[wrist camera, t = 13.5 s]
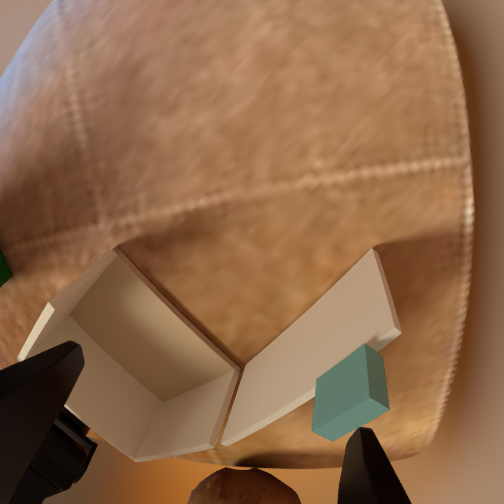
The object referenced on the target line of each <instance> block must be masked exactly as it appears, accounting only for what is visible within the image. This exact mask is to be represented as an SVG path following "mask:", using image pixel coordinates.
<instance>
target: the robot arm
mask: <svg viewBox="0 0 504 504" xmlns="http://www.w3.org/2000/svg"><path fill="white" fill-rule="evenodd" d="M84 365H85V359H84V355H83V351H82V347H81V345H80V344H78V343H76V342H74V341H72V340H69V341H66V342H64V343H62V344H59V345H57V346H55V347H52V348H50V349H48V350H46V351H43V352H41V353H39V354H36V355H34V356H32V357H30V358H27V359H25V360H23V361H20V362H18V363H16V364H13V365H11V366H9V367H7V368H4V369H2V370H0V504H42V502H43V501H44V499H45V498H47V497H50V496H52V495H55V494H58V493H60V492H62V491H65V490H67V489H69V488H70V487H71V485H72V483H73V484H75V483H76V482H78V481H79V480H80V479H81V477H82V476H83V475H84V473H85V471H86V469H87V467H88V465H89V463H90V461H91V458H92V456H93V454H94V452H95V450H96V448H97V445H98V444H97V443H95V442H92V441H91V440H90V439H89V438H87V437H86V435H87V433H88V432H89V430H90V429H91V428H89V427H88V426H87V425H86V424H84V423H83V422H82V421H81V420H80V419H78V418H77V417H76V416H75V415H74V414H73V413H71V412H70V411H69V410H68V409H67V408H66V407H65V406H64V405H65V403H66V402H67V400H68V398H69V396H70V394H71V392H72V390H73V388H74V386H75V384H76V382H77V380H78V378H79V376H80V374H81V372H82V370H83V368H84ZM337 504H412V503H411V501H410V500H409V498H408V496H407V494H406V492H405V490H404V488H403V486H402V484H401V483H400V480H399V479H398V477H397V475H396V473H395V471H394V469H393V467H392V465H391V464H390V461H389V460H388V458H387V456H386V454H385V452H384V450H383V448H382V447H381V445H380V443H379V441H378V439H377V437H376V435H375V433H374V432H373V430H372V429H371V428H366V427H359V428H357V430H356V431H355V432H354V433H353V435H352V436H351V437H350V438H349V440H348V442H347V445H346V450H345V456H344V461H343V467H342V472H341V478H340V483H339V490H338V503H337Z"/></svg>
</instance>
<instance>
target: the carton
mask: <svg viewBox="0 0 504 504" xmlns="http://www.w3.org/2000/svg"><path fill="white" fill-rule="evenodd" d="M69 340H72V341H74V342H76V343H78V344H80V345H81V347H82V351H83V355H84V359H85V365H84V368H83V370H82V372H81V374H80V376H79V378H78V380H77V382H76V384H75V386H74V388H73V390H72V392H71V394H70V396H69V398H68V400H67V402H66V403H65V405H64V406H65V407H66V408H67V409H68V410H69V411H70V412H71V413H73V414H74V415H75V416H76V417H77V418H78V419H80V420H81V421H82V422H83V423H84V424H86V425H87V426H88V427H89V428H91V429H92V430H93V431H94V432H96V433H97V434H98V435H99V436H101V437H102V438H103V439H105V440H106V441H107V442H109V443H110V444H111V445H113V446H114V447H115V448H117V449H118V450H119V451H121V452H122V453H124V454H125V455H127V456H128V457H129V458H131V459H132V460H134V461H135V462H143V461H149V460H155V459H162V458H168V457H173V456H179V455H184V454H189V453H194V452H198V451H203V450H207V449H211V448H215V445H216V442H217V439H218V437H219V434H220V431H221V428H222V425H223V422H224V419H225V416H226V413H227V410H228V407H229V404H230V401H231V398H232V395H233V392H234V389H235V386H236V383H237V380H238V377H239V374H240V371H241V368H240V367H239V366H237V365H236V364H235V363H234V362H233V361H232V360H231V359H230V358H228V357H227V356H226V355H225V354H224V353H223V352H222V351H221V350H220V349H219V348H217V347H216V346H215V345H214V344H213V343H212V342H211V341H210V340H209V339H208V338H207V337H206V336H204V335H203V334H202V333H201V332H200V331H199V330H198V329H197V328H196V327H195V326H194V325H193V324H192V323H191V322H190V321H189V320H188V319H187V318H186V317H185V316H184V315H183V314H182V313H180V312H179V311H178V310H177V309H176V308H175V307H174V306H173V305H172V304H171V303H170V302H169V301H168V300H167V299H166V298H165V297H164V296H163V295H162V294H161V293H160V292H159V290H158V289H157V288H156V287H155V286H154V285H153V284H152V283H151V282H150V281H149V280H148V279H147V278H146V277H145V276H144V275H143V274H142V273H141V272H140V271H139V270H138V269H137V268H136V266H135V265H134V264H133V263H132V262H131V261H130V260H129V259H128V258H127V257H126V256H125V255H124V254H123V252H122V251H121V250H120V249H119V248H118V247H117V246H116V247H114V248H113V249H112V250H111V251H109V252H108V253H107V254H105V255H104V256H103V257H102V258H100V259H99V260H98V261H97V262H95V263H94V264H93V265H92V266H91V267H89V268H88V269H87V270H86V271H84V272H83V273H82V274H81V275H80V276H78V277H77V278H76V279H75V280H74V281H72V282H71V283H70V284H69V285H68V286H67V287H65V288H64V289H63V290H62V291H61V292H59V293H58V294H57V295H56V296H55V297H54V298H53V299H51V300H50V301H49V302H48V304H47V305H46V307H45V309H44V310H43V312H42V314H41V315H40V317H39V319H38V321H37V322H36V324H35V326H34V328H33V330H32V331H31V333H30V335H29V337H28V339H27V341H26V342H25V344H24V346H23V348H22V350H21V352H20V354H19V356H18V358H17V359H18V361H19V362H20V361H23V360H25V359H27V358H30V357H32V356H34V355H36V354H39V353H41V352H43V351H46V350H48V349H50V348H52V347H55V346H57V345H59V344H62V343H64V342H66V341H69Z"/></svg>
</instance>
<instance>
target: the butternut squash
mask: <svg viewBox="0 0 504 504" xmlns="http://www.w3.org/2000/svg"><path fill="white" fill-rule="evenodd" d="M188 504H301V502H300V500H299V497H298V495H297V493H296V492H295V491H294V490H293V489H292V488H290V487H289V486H287V485H286V484H284V483H283V482H282V481H280V480H279V479H277V478H276V477H274V476H273V475H271V474H269V473H267V472H265V471H262V470H260V469H258V468H252V469H250V470H236V469H231V468H227V467H225V468H223V469H221V470H219V471H216V472H214V473H213V474H211V475H210V476H208V477H207V478H205V479H204V480H203V481H201V482H200V483H199V485H198V486H197V487H196V488H195V489H194V490H192V492H191V495H190V498H189V501H188Z"/></svg>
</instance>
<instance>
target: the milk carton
mask: <svg viewBox="0 0 504 504" xmlns="http://www.w3.org/2000/svg"><path fill="white" fill-rule="evenodd" d="M11 277H12V274H11V272H10V270H9V268H8V266H7V264H6V262H5V260H4V257H3V255H2V253H1V251H0V287H1V286H2V285H3V284H4V283H5V282H7V281H8V280H9V279H10V278H11Z"/></svg>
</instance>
